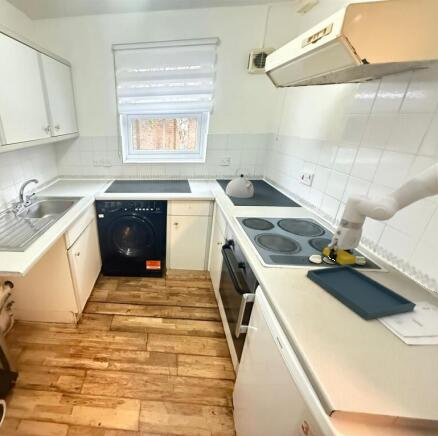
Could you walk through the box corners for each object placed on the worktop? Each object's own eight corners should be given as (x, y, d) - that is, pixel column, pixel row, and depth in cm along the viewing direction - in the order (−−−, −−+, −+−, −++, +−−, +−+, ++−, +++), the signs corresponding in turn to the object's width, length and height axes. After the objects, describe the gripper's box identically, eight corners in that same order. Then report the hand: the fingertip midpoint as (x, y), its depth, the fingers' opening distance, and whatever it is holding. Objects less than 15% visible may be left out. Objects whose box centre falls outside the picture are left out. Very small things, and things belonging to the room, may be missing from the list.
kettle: (261, 197, 194) (266, 170, 186) (237, 199, 189) (241, 171, 180) (242, 189, 217) (246, 164, 208) (220, 191, 211) (223, 165, 202)
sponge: (322, 255, 112) (324, 247, 111) (333, 253, 114) (335, 246, 112) (341, 266, 103) (344, 259, 102) (354, 265, 105) (357, 257, 103)
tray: (345, 270, 101) (347, 264, 100) (412, 310, 80) (416, 304, 79) (306, 276, 97) (308, 270, 96) (365, 320, 76) (368, 313, 75)
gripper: (342, 229, 96) (329, 266, 103) (376, 225, 99) (361, 261, 106) (326, 221, 103) (315, 257, 110) (358, 218, 106) (345, 253, 113)
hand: (338, 259), depth 108 cm, fingers closed on sponge, 6 cm apart
